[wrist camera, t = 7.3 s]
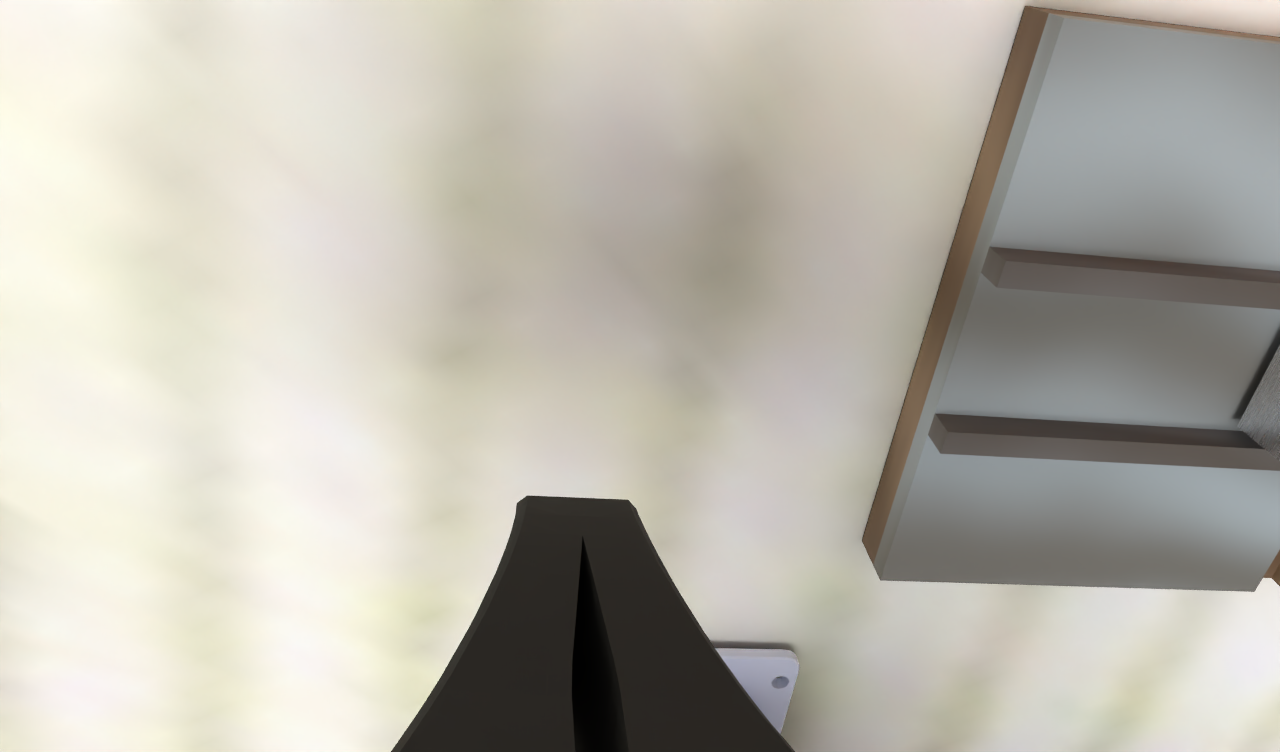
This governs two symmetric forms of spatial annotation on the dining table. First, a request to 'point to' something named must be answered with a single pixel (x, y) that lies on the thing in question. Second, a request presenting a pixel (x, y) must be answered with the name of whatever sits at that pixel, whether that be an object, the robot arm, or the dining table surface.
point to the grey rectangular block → (1265, 410)
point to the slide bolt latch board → (1102, 324)
